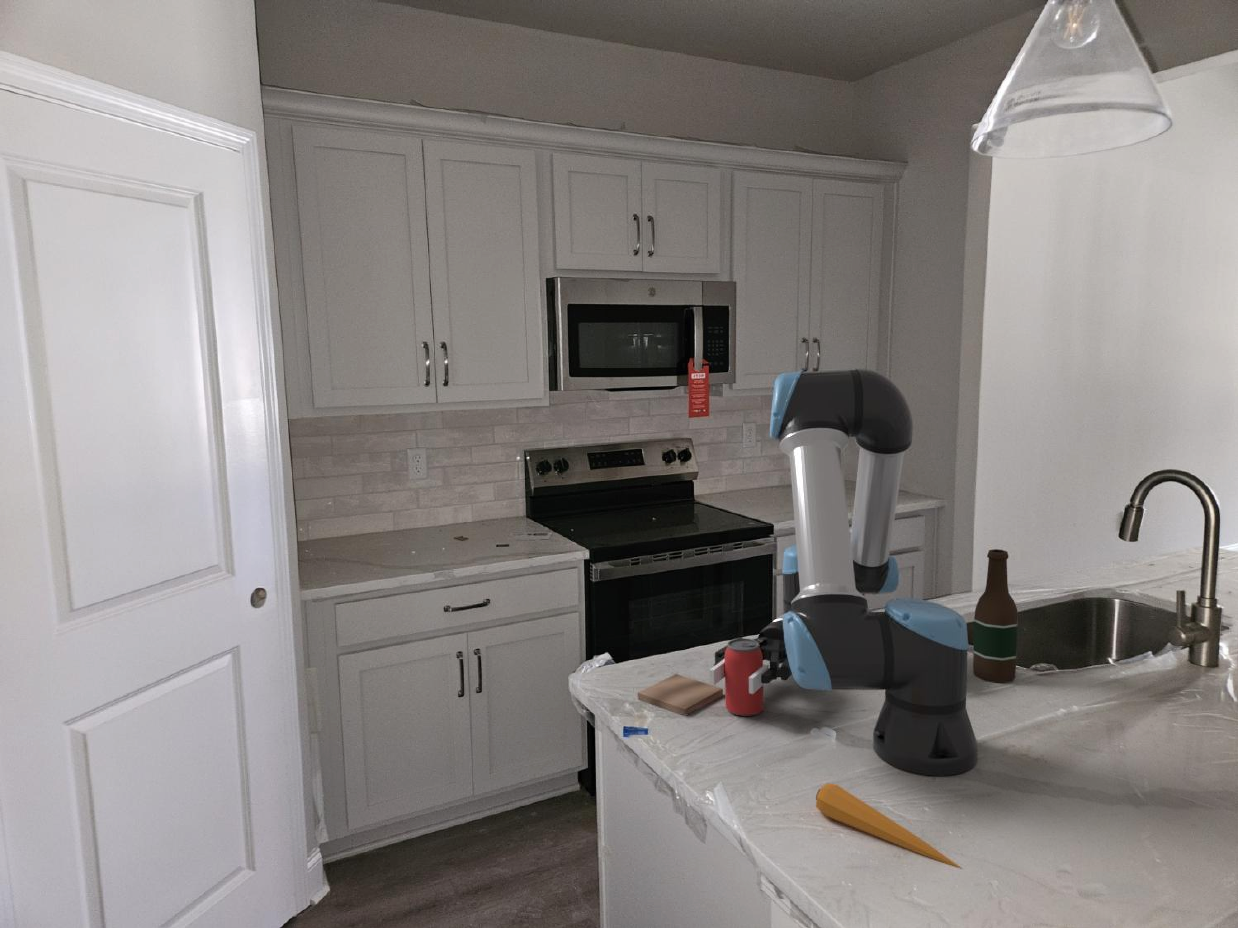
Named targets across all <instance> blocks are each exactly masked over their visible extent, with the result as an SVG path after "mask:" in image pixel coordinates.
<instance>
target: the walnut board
mask: <svg viewBox="0 0 1238 928" xmlns="http://www.w3.org/2000/svg"><path fill="white" fill-rule="evenodd" d="M721 695H722V696H723V695H724V689H723V688H722V687H720V686H719V687H718V686H716V685H710V683H706V682H703V681H699V680H696V679H693V678H691V677H687V676H684V675H681V674H678V673H675V674H672V675H671V676H669V677H666V678H665V679H663V680H661V681H659V682H657V683H655V684H653V685H651V686H648V687H646V688H645V689H642V690H640V691H638V692H637V699H638V700H640V701H643V702H645V703H649V704H651V705H654V706H656V705H658V706H657V707H659V706H660V707H659V708H662V709H665V710H667V709H668V711H670V710H671V712H673V711H674V712H673V713H676V714H679V715H681V714H683V715H682V716H684V715H686V714H687V715H689V714H692V713H693V712H694V711H693V710H695V709H696V710H699V709H700V708H702V707H704V706H705V705H707V704H709V703H711V702H713V701H714V700H716V699H718V698H720V697H722V696H721ZM719 696H720V697H719ZM712 700H713V701H712ZM703 705H704V706H703ZM696 710H695V711H696ZM692 711H693V712H692ZM687 715H686V716H687Z"/></svg>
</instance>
